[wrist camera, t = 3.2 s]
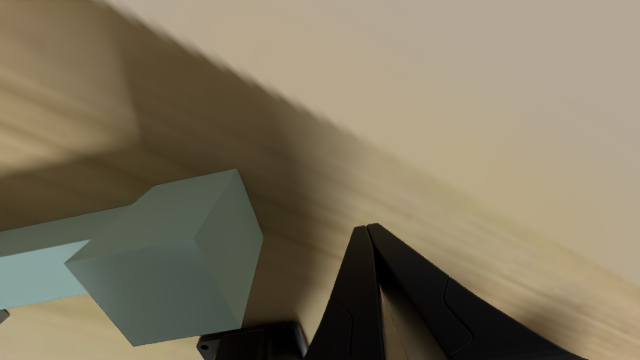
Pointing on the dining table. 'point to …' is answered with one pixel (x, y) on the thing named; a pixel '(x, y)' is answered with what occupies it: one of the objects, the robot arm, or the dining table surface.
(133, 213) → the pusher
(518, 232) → the dining table surface
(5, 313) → the cover
